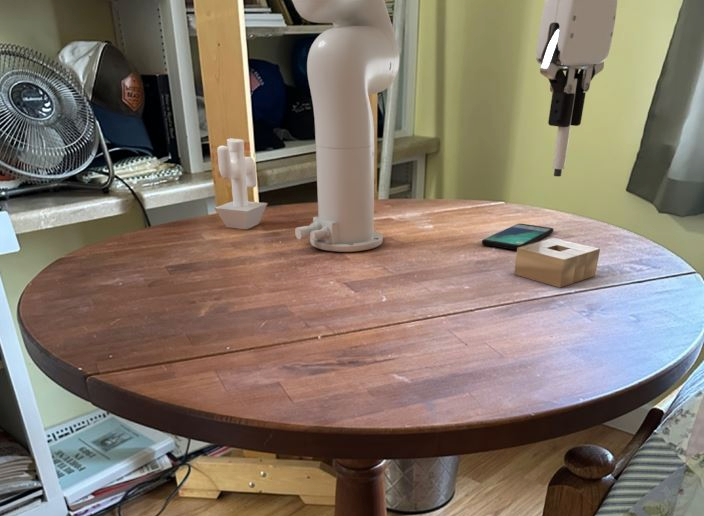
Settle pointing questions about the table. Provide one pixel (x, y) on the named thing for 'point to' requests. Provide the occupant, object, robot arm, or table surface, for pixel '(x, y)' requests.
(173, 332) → the table surface
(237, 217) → the figurine
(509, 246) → the smartphone
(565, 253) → the pen stand
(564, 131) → the white rod
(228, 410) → the table surface
